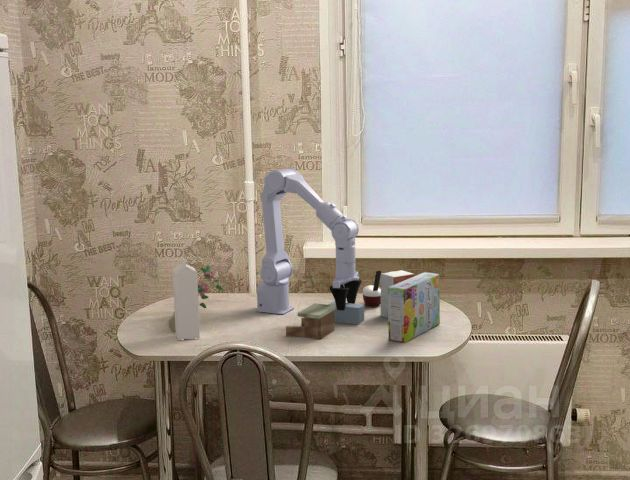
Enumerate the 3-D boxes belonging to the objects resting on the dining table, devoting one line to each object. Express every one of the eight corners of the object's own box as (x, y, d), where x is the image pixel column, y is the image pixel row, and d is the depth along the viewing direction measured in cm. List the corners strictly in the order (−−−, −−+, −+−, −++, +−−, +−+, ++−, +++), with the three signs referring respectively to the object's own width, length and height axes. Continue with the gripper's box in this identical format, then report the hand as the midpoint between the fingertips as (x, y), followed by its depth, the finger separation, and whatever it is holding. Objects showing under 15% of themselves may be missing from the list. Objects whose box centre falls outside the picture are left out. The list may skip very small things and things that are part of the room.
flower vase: (168, 354, 228) (192, 298, 260) (207, 343, 226) (226, 288, 258) (152, 320, 224) (178, 267, 256) (192, 308, 221) (213, 257, 254)
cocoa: (363, 303, 254) (361, 266, 253) (382, 302, 254) (381, 265, 252) (363, 309, 245) (361, 271, 243) (383, 309, 244) (382, 270, 243)
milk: (178, 341, 216) (173, 262, 212) (175, 335, 221) (171, 257, 217) (200, 338, 217) (196, 260, 213) (197, 332, 223) (193, 256, 219)
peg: (327, 321, 233) (327, 304, 233) (333, 317, 237) (333, 301, 236) (359, 324, 229) (359, 308, 228) (364, 321, 233) (364, 304, 232)
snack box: (423, 321, 231) (423, 271, 228) (440, 324, 228) (441, 273, 225) (386, 340, 214) (386, 286, 211) (405, 343, 211) (405, 288, 208)
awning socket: (284, 336, 219) (284, 311, 218) (303, 325, 229) (302, 301, 228) (319, 340, 214) (318, 315, 213) (336, 329, 224) (336, 305, 223)
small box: (393, 320, 233) (393, 277, 231) (380, 315, 238) (380, 273, 236) (414, 315, 237) (414, 273, 235) (400, 311, 243) (401, 269, 240)
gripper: (348, 267, 222) (348, 314, 224) (367, 257, 235) (367, 302, 237) (325, 265, 225) (326, 311, 227) (345, 256, 238) (346, 300, 240)
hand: (346, 306), depth 232 cm, fingers open, 7 cm apart
